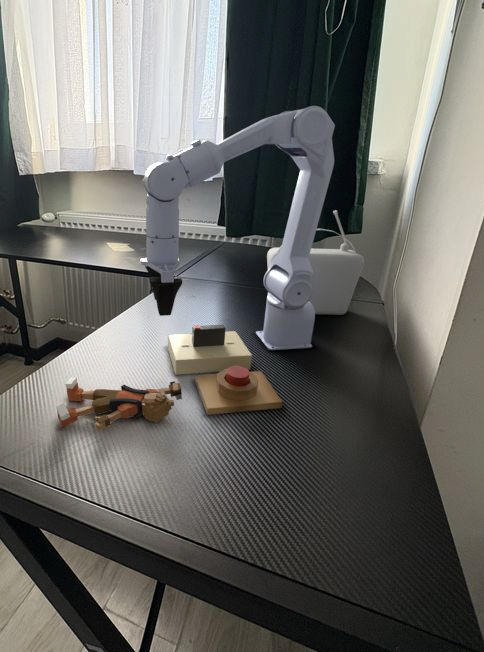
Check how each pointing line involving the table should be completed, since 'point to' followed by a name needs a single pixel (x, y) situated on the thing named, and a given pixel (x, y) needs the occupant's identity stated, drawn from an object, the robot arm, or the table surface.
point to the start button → (237, 376)
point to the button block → (236, 394)
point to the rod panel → (207, 354)
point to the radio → (331, 275)
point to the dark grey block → (208, 335)
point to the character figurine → (118, 403)
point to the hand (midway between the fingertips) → (162, 306)
